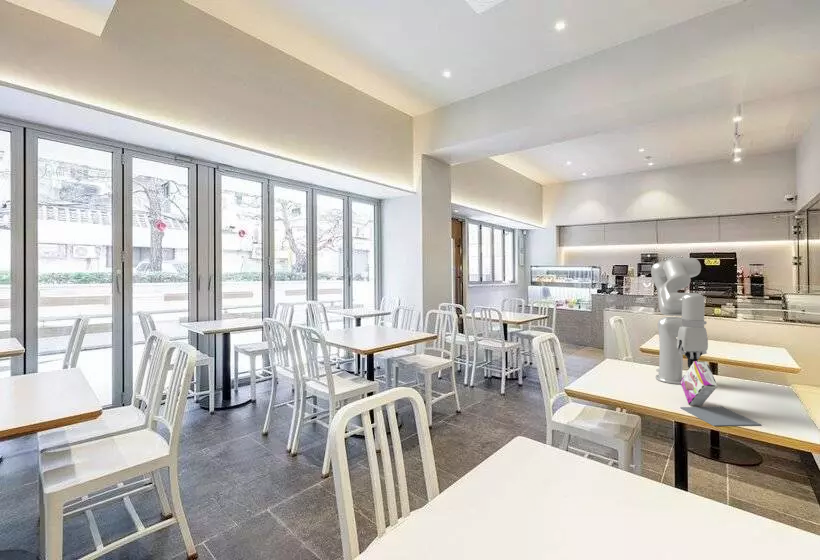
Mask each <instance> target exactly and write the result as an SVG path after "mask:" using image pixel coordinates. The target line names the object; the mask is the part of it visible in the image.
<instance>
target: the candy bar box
mask: <svg viewBox="0 0 820 560" xmlns="http://www.w3.org/2000/svg"><path fill="white" fill-rule="evenodd" d="M680 383H681V384H680V385H681V387H682V391H683V393H684V396H685V399H686V401H687V405H689V406H695V407H703V405H704V403H705V402H706V401H707V399H709V397H710V396H711V395H712V394H713V392H714V391H715V390H716V389H717V388H718V383H717V382H716V379H715V377H714V375H713V373H712V370H711V368H710V365H709V363H708V361H700V360H698V361H694V362H693V363H692V365H691V366H690V368H689V367H688V369H687V371H686V372H685V374H683V376H682V379H681V381H680Z"/></svg>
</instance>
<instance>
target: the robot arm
mask: <svg viewBox="0 0 820 560" xmlns="http://www.w3.org/2000/svg"><path fill="white" fill-rule="evenodd" d="M701 270H702V265H701V263H700V261H699V260H698V259H697V258H696V257H695V258H694V257H673V258H669V259H667V260H665V261H660V262H659V261H658V262H655V263H653V264H652V266H651V268H650V273H651V279H652V281H653V284H654V286H655V288H656V291H657V292H656V293H657V300H658V308H659V311H660V313H661V314H662V315H664V317H662V318H659V319H658V321H657V330H658V337H659V338H658V339H659V358H658V361H659V365H658V366H659V367H658V368H657V369H656V372H658V374H656V375H655V379H656V381H659V382H663V383H665V384H675V385H681V383H680V381H681V379H682V378H683V367H684V366H683V363H684V362H683V359H684V358H683V355H684V356H685V357H686V358H687V368H688V369H689V368H690V366H691V365H692V363H693V362H694V361H698V362H699V360H700V359H701V358H700V357H701V356H703V355H707V353H708V352H707V351H708V347H709V343H708V342H709V340H708V338H709V337H708V333H707V329H706V327H705V325H707V321H706V320H705V296H704V295H702V294H700V293H697V292H678V291H680V290H683V289H685V288H687V287H688V286H690V284H691V281H692V280H691V278H694V277H697V276H698V275H700V273H701ZM680 316H681V317H680Z"/></svg>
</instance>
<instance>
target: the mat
mask: <svg viewBox="0 0 820 560" xmlns="http://www.w3.org/2000/svg"><path fill="white" fill-rule="evenodd" d="M680 409H681V410H683V411H685V412H687V413H688V414H691V416H694V417H696V418H697V419H700V420H701V421H704V422H705V423H707V424H709V425H711V426H713V427H742V426H743V427H745V426H751V427H753V426H754V427H755V426H762V423H760V422H757V421H755V420H753V419H751V418H750V417H746V416H744V415H742V414H740V413H737V412H735V411H733V410H732V409H729V408H727V407H724V406H683V407H682V406H681V407H680Z"/></svg>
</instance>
